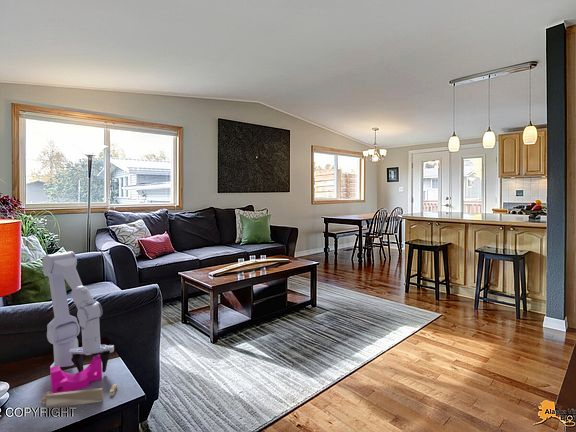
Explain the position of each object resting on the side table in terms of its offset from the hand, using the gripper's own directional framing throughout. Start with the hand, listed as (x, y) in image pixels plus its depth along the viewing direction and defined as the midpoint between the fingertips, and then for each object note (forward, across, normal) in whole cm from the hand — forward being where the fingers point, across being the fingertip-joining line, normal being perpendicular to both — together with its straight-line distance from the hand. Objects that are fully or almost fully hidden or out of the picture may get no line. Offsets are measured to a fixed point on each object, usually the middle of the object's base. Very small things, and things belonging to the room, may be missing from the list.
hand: (93, 372), depth 127 cm
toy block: (+2, -3, -5) cm, 7 cm away
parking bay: (+1, 0, -13) cm, 13 cm away
